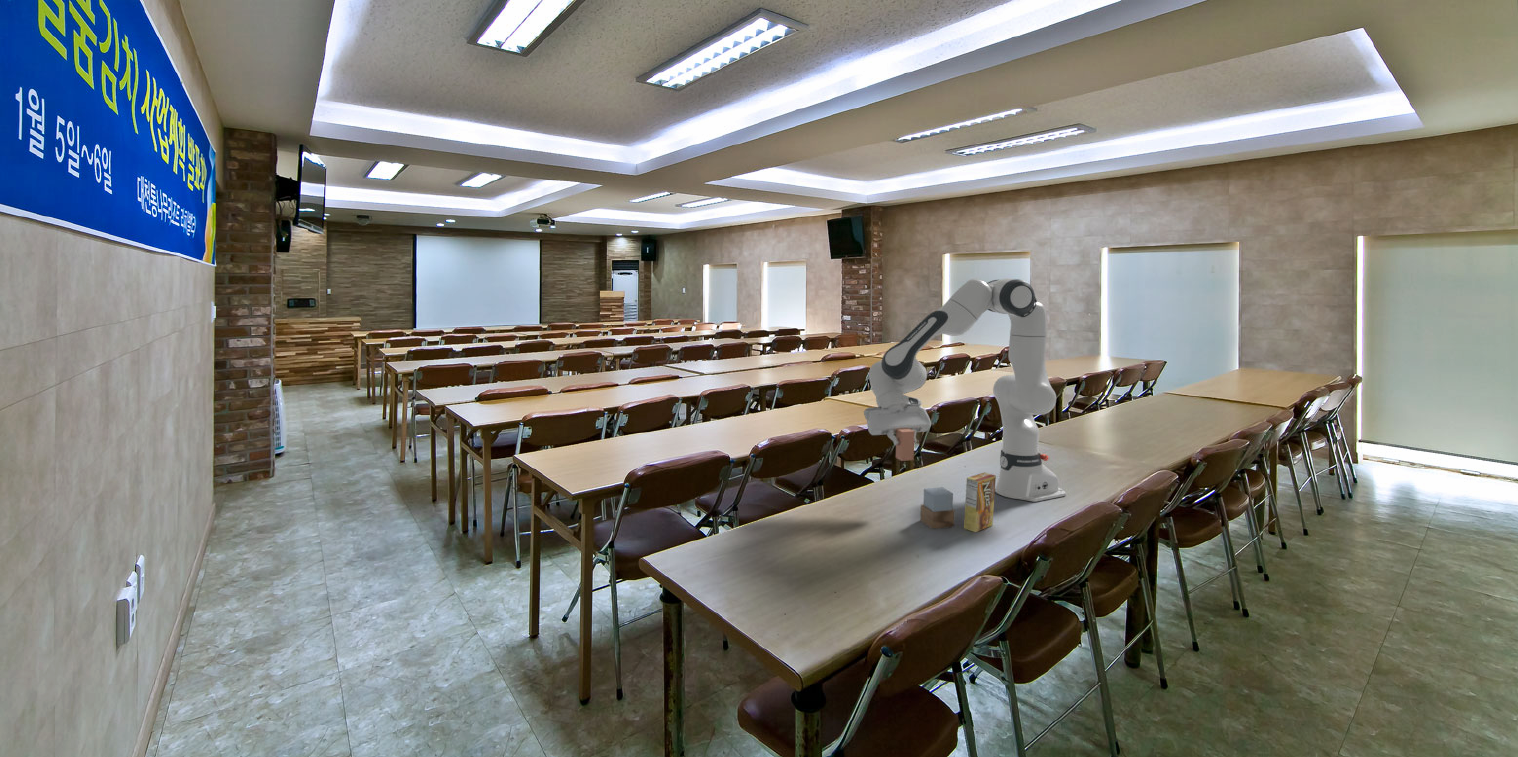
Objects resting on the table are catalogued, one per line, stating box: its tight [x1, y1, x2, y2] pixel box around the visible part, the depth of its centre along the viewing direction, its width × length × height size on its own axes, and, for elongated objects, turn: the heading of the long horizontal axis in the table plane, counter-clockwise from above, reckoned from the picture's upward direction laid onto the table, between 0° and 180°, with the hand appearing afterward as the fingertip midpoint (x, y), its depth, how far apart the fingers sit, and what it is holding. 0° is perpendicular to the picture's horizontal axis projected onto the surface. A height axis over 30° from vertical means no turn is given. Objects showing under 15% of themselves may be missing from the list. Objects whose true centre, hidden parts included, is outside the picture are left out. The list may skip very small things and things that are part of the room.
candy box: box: [963, 472, 997, 533], centre depth 195 cm, size 9×4×15 cm, turn 129°
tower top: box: [922, 487, 954, 512], centre depth 198 cm, size 6×6×5 cm
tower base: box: [920, 504, 955, 530], centre depth 199 cm, size 7×7×5 cm
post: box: [895, 428, 915, 462], centre depth 209 cm, size 4×4×9 cm
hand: (906, 443), depth 208 cm, fingers closed on post, 4 cm apart
